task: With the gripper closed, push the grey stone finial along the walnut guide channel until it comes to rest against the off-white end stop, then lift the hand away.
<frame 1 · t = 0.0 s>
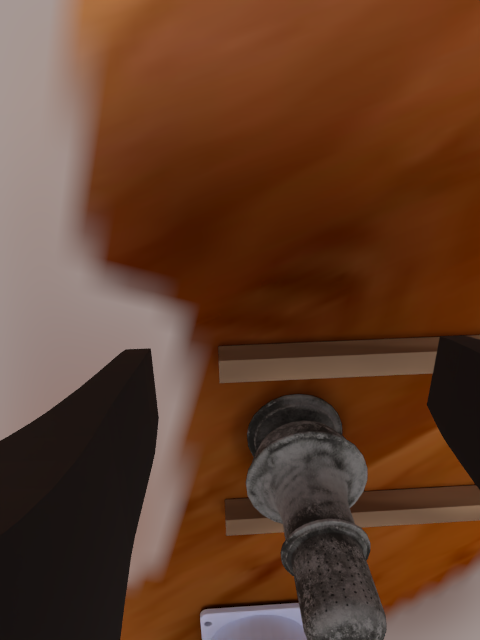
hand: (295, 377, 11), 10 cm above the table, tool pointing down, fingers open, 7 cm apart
grey stone finial: (293, 431, 25), on the table
guide channel: (366, 430, 25), on the table
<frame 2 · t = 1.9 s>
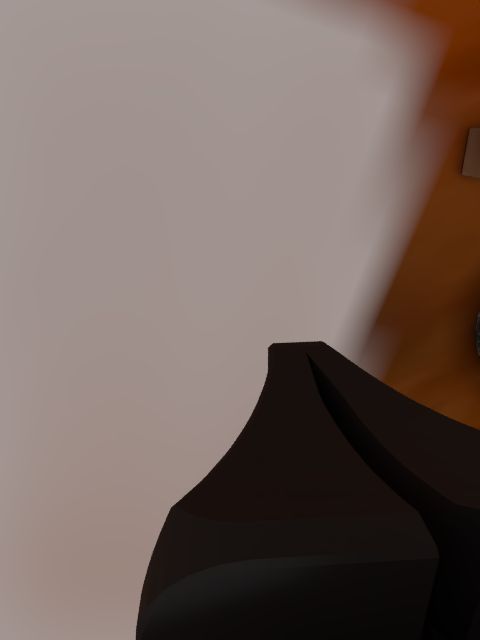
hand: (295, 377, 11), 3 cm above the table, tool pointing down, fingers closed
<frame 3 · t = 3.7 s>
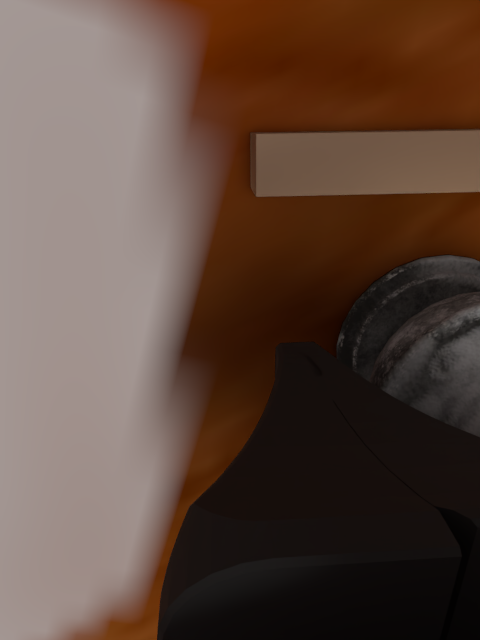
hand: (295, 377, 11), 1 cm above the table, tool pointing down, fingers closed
grey stone finial: (424, 342, 13), on the table, touching gripper
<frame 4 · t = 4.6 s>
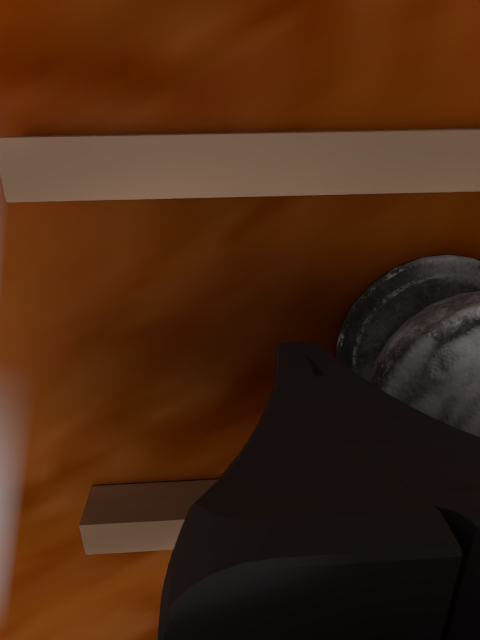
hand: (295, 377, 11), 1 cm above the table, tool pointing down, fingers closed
grey stone finial: (424, 341, 13), on the table, touching gripper
guide channel: (355, 349, 12), on the table
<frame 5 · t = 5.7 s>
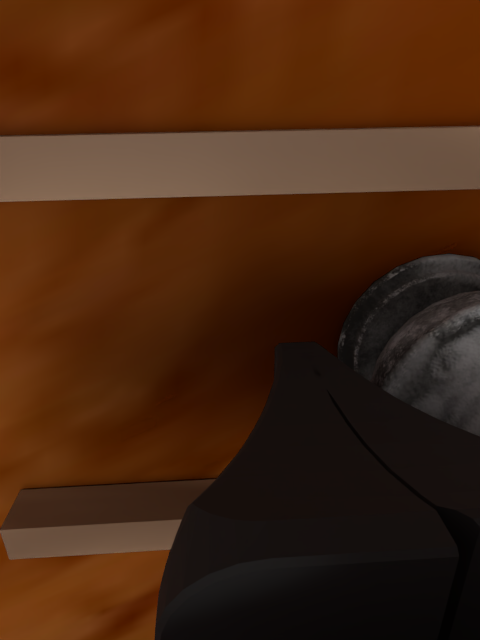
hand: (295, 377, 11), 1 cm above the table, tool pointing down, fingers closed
grey stone finial: (426, 341, 13), on the table, touching gripper
guide channel: (277, 351, 12), on the table
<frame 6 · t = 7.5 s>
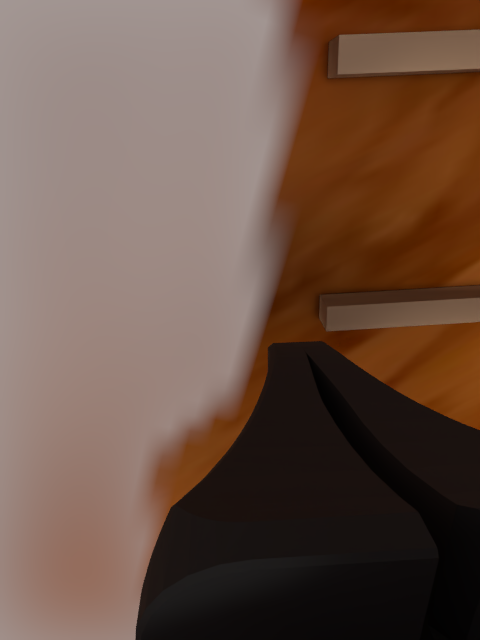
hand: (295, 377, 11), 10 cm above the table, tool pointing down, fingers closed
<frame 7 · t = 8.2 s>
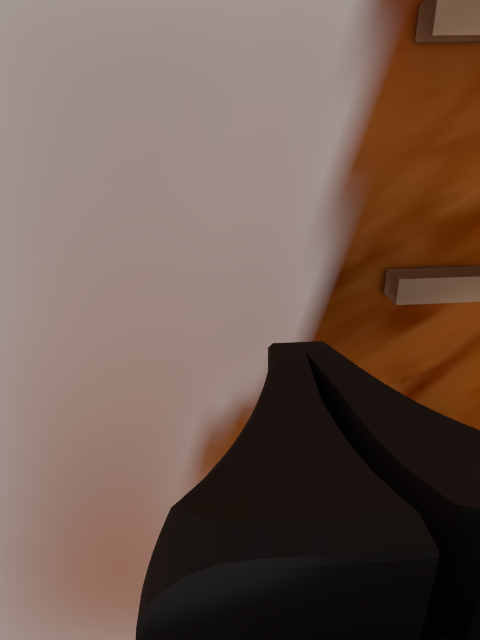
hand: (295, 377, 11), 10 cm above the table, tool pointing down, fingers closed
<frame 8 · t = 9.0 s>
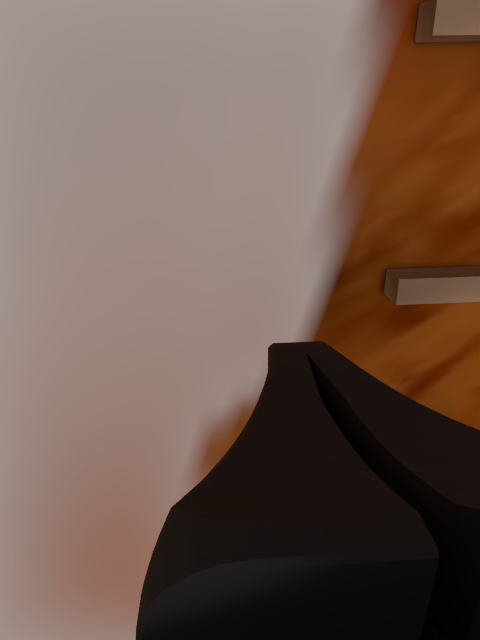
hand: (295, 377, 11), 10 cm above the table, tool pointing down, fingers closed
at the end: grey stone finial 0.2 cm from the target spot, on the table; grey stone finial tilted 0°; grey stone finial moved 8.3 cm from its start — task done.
